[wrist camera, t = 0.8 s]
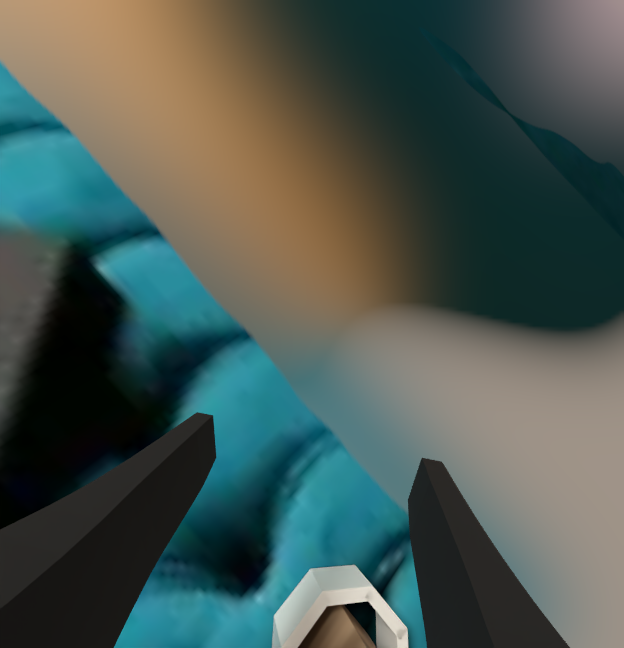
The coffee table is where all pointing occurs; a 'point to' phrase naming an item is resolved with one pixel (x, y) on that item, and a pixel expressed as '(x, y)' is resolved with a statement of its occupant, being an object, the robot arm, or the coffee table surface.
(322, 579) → the white octagonal ring
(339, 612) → the walnut peg
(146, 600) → the coffee table surface
